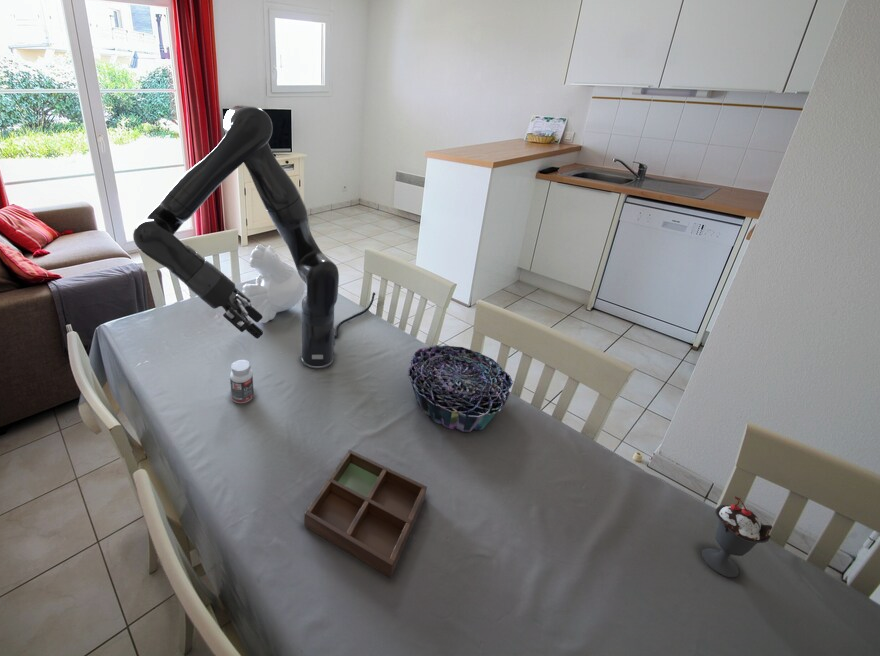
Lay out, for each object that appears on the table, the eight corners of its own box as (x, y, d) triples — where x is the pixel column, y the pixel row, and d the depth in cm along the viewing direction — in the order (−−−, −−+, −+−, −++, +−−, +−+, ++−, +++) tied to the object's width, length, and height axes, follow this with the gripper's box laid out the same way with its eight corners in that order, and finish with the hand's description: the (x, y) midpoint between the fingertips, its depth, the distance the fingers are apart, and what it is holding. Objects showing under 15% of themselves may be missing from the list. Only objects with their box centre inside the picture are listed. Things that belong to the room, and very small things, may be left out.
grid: (348, 460, 94) (349, 449, 93) (425, 498, 86) (427, 486, 84) (304, 526, 80) (304, 513, 79) (390, 578, 72) (392, 565, 70)
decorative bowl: (504, 387, 120) (510, 356, 117) (510, 456, 95) (518, 419, 92) (413, 367, 128) (416, 337, 125) (396, 426, 103) (400, 391, 100)
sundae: (685, 545, 78) (715, 485, 72) (719, 542, 78) (751, 483, 73) (719, 584, 72) (754, 523, 66) (755, 581, 72) (794, 520, 67)
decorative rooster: (289, 275, 166) (249, 234, 151) (317, 280, 155) (277, 237, 140) (254, 330, 157) (207, 293, 142) (282, 340, 146) (234, 301, 131)
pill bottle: (248, 405, 109) (246, 374, 105) (228, 402, 110) (225, 370, 106) (256, 391, 114) (255, 360, 110) (236, 388, 115) (234, 357, 111)
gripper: (219, 284, 91) (272, 330, 97) (223, 263, 105) (270, 305, 110) (194, 307, 92) (249, 352, 97) (201, 283, 105) (249, 324, 111)
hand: (260, 327), depth 104 cm, fingers open, 8 cm apart
